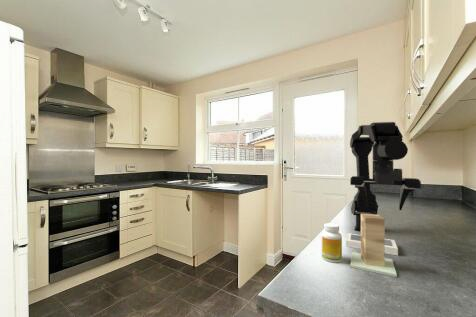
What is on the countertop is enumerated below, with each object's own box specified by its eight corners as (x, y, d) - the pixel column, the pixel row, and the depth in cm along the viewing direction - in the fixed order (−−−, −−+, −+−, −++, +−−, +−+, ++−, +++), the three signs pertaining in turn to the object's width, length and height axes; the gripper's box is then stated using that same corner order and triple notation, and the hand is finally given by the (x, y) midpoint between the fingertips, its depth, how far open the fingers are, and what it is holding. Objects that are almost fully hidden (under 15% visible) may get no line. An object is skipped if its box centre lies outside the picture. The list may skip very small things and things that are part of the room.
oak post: (360, 257, 64) (360, 213, 64) (378, 259, 62) (378, 214, 63) (365, 264, 59) (365, 217, 60) (384, 266, 58) (384, 218, 58)
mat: (352, 254, 68) (352, 252, 68) (392, 261, 63) (392, 259, 63) (350, 267, 59) (350, 264, 59) (396, 277, 54) (396, 274, 54)
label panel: (347, 238, 82) (347, 232, 82) (394, 246, 75) (394, 239, 75) (346, 246, 74) (346, 239, 74) (397, 255, 67) (397, 248, 67)
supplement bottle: (344, 264, 61) (344, 228, 61) (323, 262, 62) (323, 226, 62) (339, 256, 66) (339, 223, 66) (320, 254, 67) (320, 221, 67)
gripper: (349, 159, 70) (349, 209, 70) (425, 160, 61) (425, 217, 61) (351, 160, 80) (351, 204, 80) (416, 160, 71) (417, 210, 71)
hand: (382, 208), depth 73 cm, fingers open, 9 cm apart
